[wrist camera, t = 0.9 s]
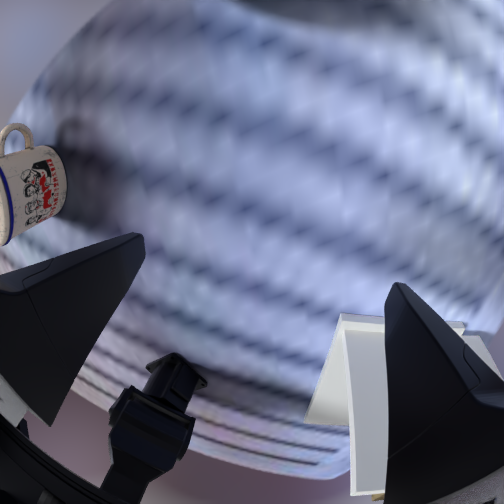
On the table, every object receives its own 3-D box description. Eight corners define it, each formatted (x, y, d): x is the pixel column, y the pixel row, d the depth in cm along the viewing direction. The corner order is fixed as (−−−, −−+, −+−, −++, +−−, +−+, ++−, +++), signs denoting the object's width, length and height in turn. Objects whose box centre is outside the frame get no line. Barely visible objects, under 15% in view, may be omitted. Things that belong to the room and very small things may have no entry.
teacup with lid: (70, 224, 27) (-4, 271, 17) (27, 210, 28) (-38, 246, 17) (73, 117, 22) (-20, 133, 11) (28, 118, 22) (-49, 136, 12)
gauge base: (304, 416, 34) (292, 527, 19) (340, 312, 26) (354, 487, 10) (415, 417, 32) (429, 512, 16) (478, 322, 24) (537, 438, 8)
